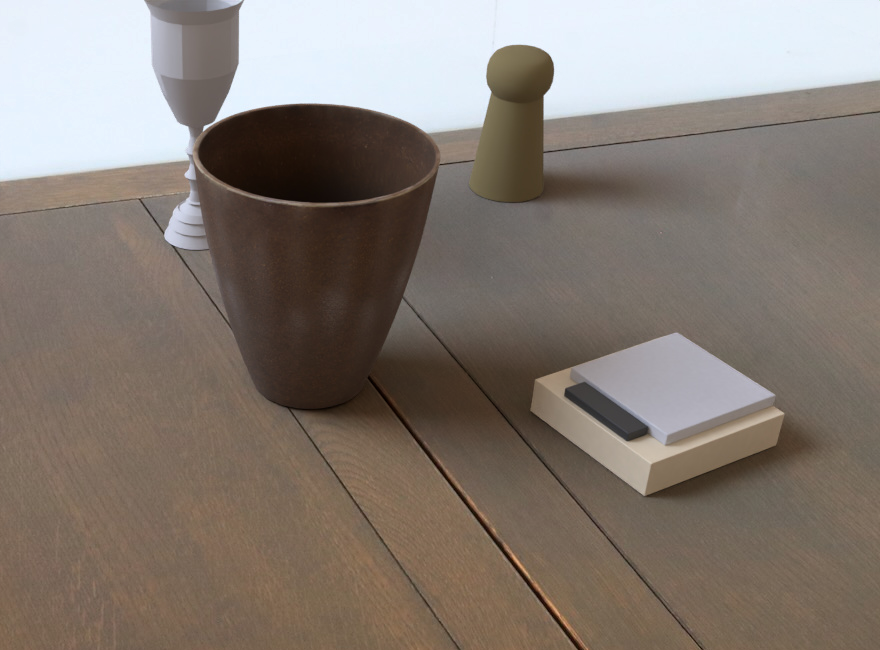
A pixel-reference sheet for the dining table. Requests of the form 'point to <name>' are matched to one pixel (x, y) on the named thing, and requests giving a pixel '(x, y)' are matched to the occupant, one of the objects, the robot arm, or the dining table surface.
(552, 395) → the scale
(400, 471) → the dining table surface
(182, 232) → the chalice
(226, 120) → the flower pot
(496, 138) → the olive pawn
